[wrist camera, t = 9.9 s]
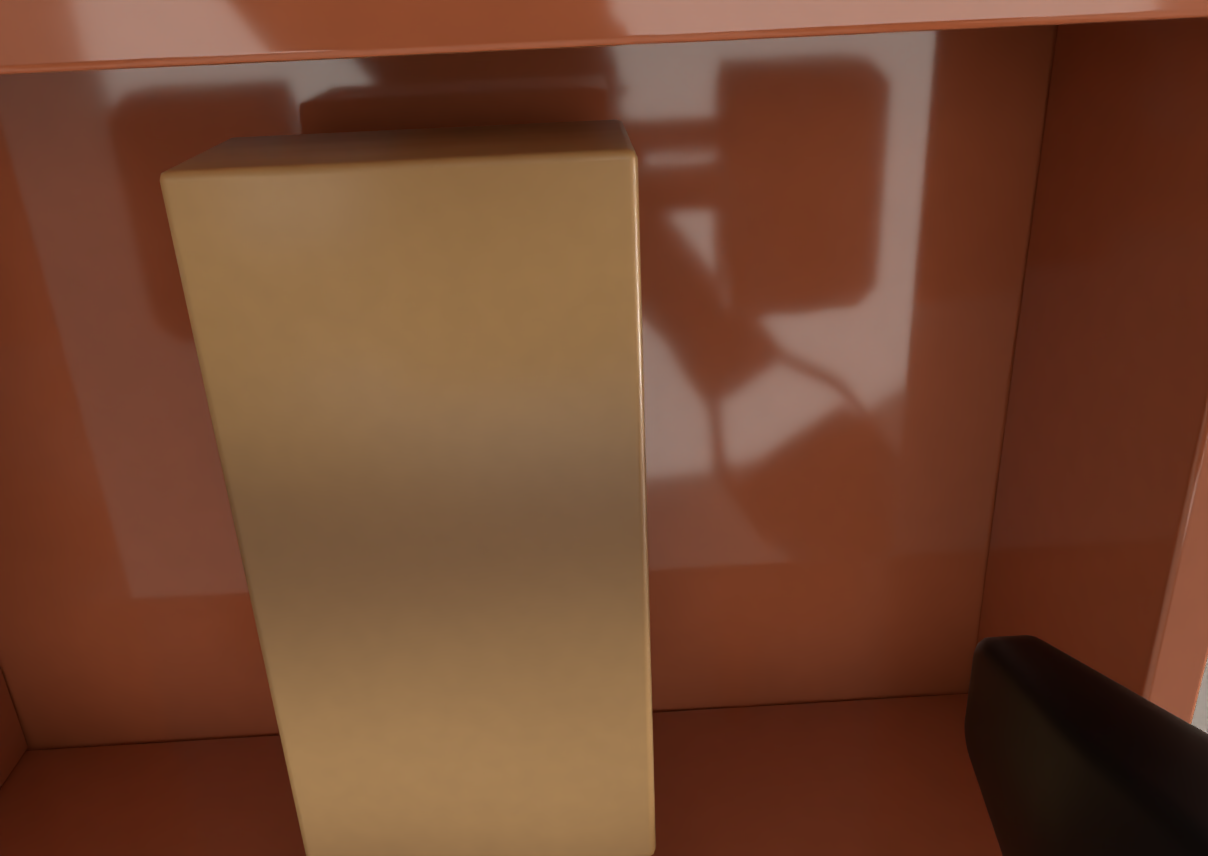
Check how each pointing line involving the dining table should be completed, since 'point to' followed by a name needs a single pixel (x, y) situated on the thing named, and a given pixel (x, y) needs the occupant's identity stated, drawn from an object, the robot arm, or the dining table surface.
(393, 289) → the tan wooden block
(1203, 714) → the dining table surface
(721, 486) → the terracotta tub
